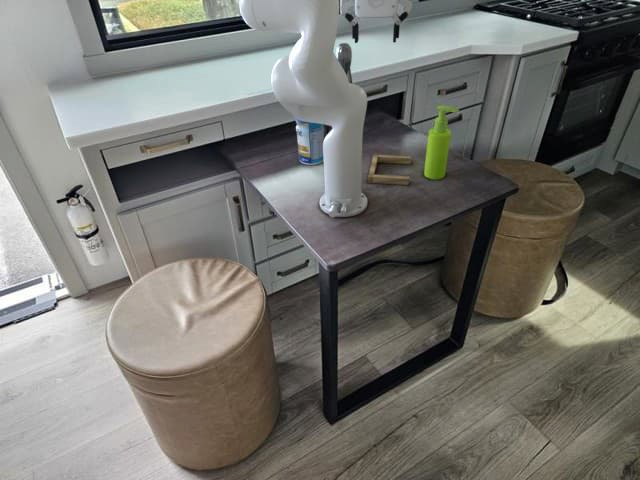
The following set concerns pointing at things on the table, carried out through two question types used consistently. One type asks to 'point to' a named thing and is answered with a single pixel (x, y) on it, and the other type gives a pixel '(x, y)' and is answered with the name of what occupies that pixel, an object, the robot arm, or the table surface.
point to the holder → (388, 178)
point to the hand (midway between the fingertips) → (375, 41)
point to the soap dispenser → (438, 145)
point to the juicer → (344, 63)
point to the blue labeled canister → (310, 142)
